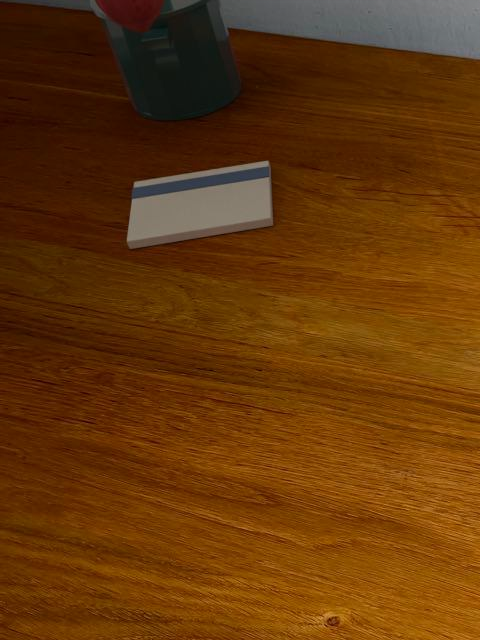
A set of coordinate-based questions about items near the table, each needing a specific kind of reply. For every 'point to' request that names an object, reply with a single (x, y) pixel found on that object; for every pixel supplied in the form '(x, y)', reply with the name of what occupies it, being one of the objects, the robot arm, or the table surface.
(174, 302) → the table surface
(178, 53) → the pot
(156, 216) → the towel
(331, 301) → the table surface
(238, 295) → the table surface
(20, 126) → the table surface
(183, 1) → the pot lid
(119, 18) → the onion
